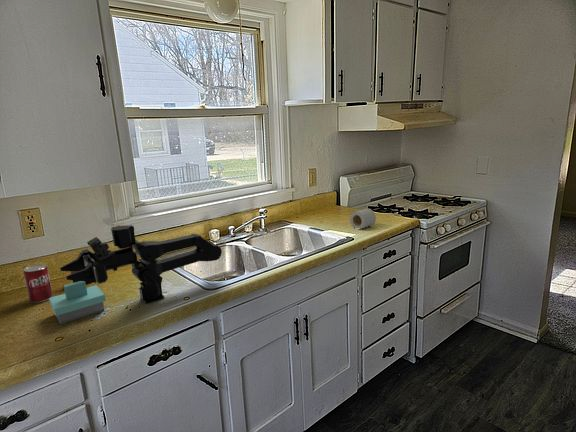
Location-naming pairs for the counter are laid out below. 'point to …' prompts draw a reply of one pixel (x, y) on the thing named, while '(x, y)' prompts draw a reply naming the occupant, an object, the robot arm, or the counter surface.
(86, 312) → the tub
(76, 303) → the lid
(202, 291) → the counter surface
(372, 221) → the toilet paper
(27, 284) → the soda can
